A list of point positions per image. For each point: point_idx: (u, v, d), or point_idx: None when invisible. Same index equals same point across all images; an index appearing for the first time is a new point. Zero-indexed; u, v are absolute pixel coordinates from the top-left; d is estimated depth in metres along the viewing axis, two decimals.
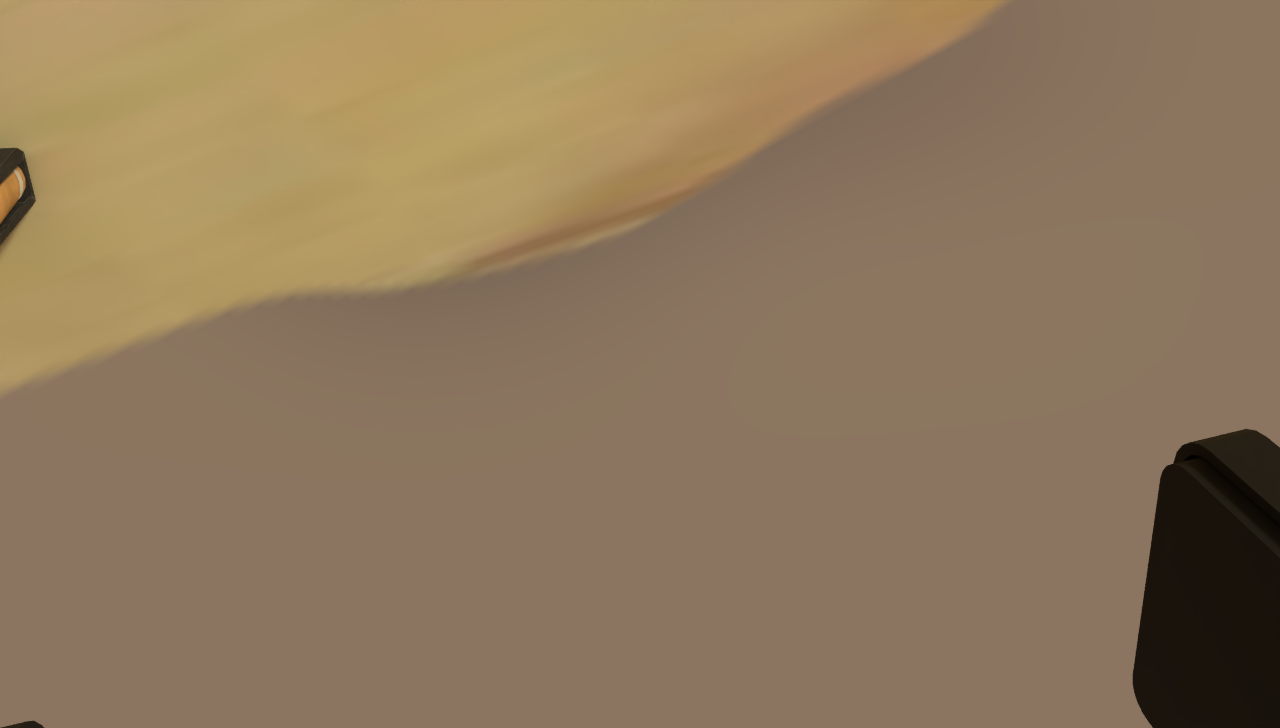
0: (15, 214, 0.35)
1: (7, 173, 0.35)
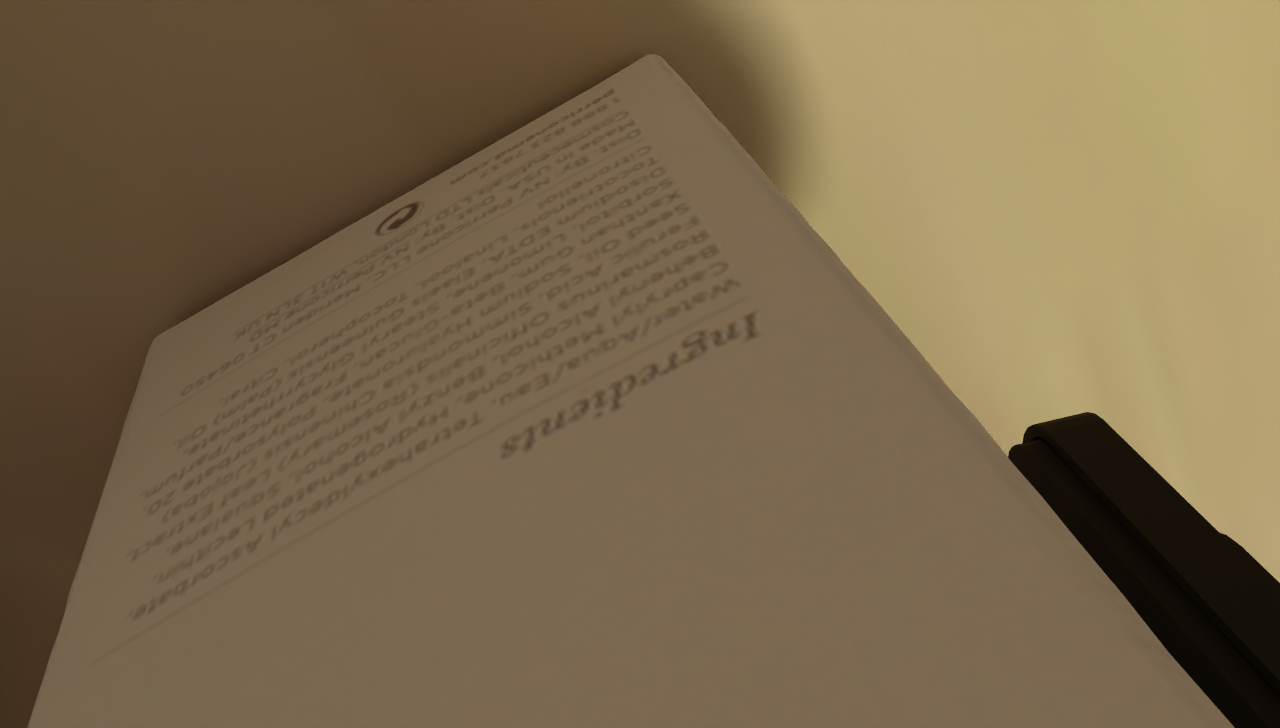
0: None
1: None
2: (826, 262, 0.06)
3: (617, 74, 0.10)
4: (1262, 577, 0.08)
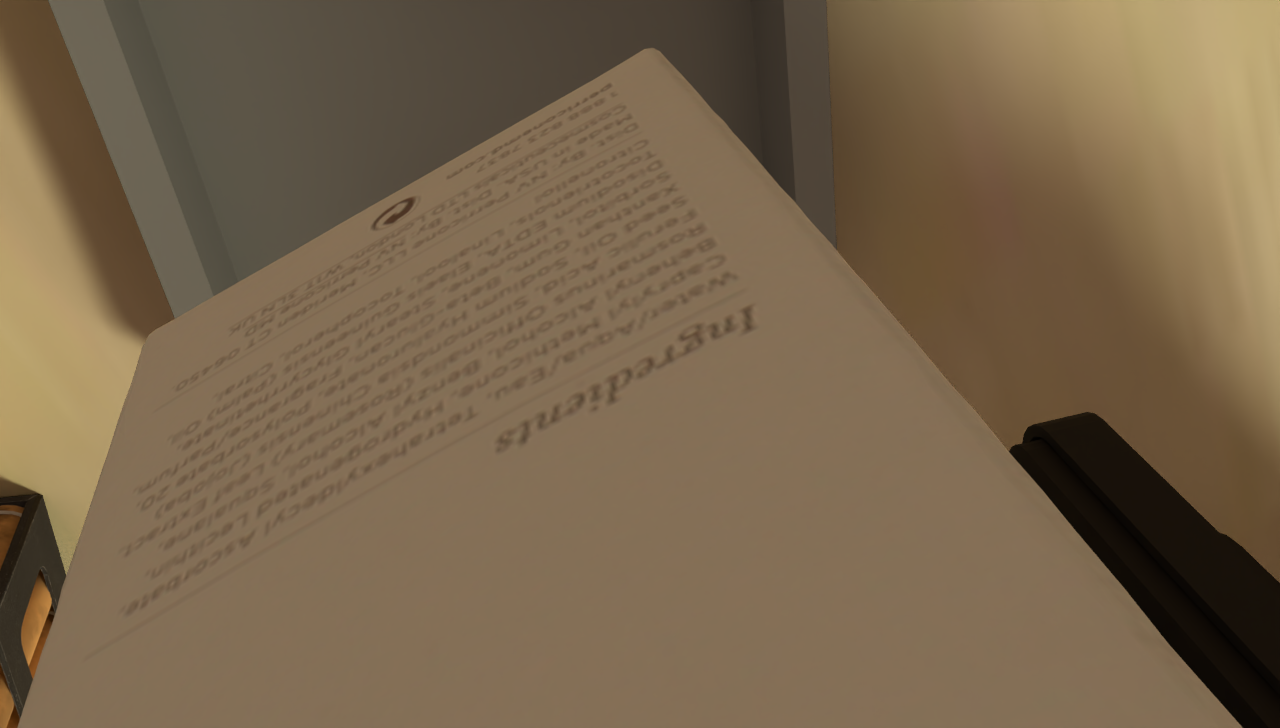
0: None
1: None
2: (824, 255, 0.06)
3: (616, 69, 0.10)
4: (1262, 577, 0.08)
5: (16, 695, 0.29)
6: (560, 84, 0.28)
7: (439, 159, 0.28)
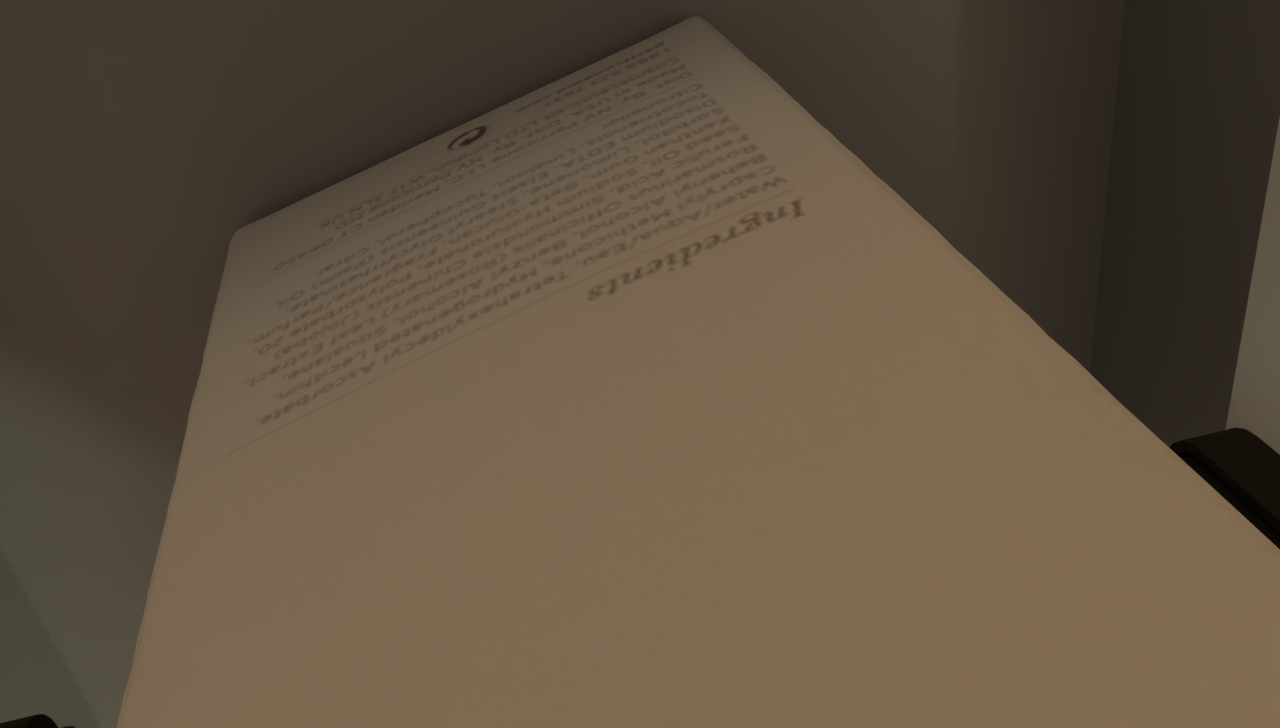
0: None
1: None
2: (858, 167, 0.08)
3: (666, 32, 0.11)
4: None
5: None
6: None
7: None
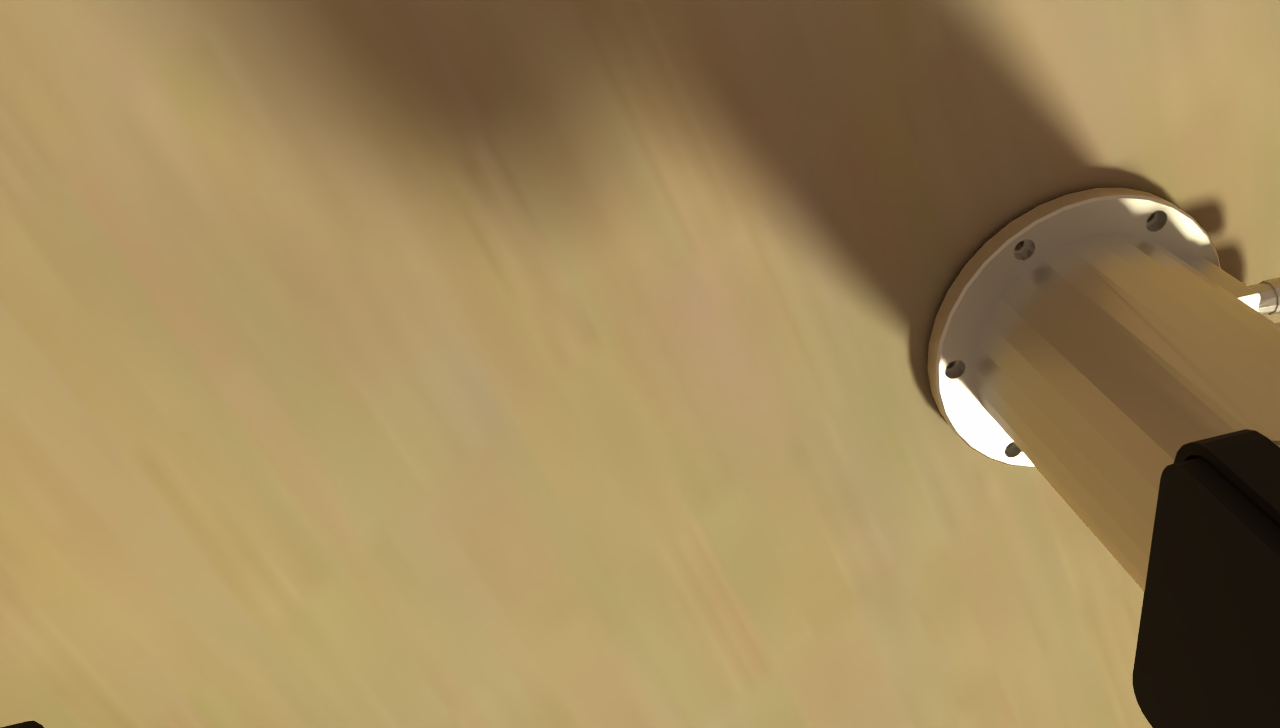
0: None
1: None
2: None
3: None
4: None
5: None
6: None
7: None
